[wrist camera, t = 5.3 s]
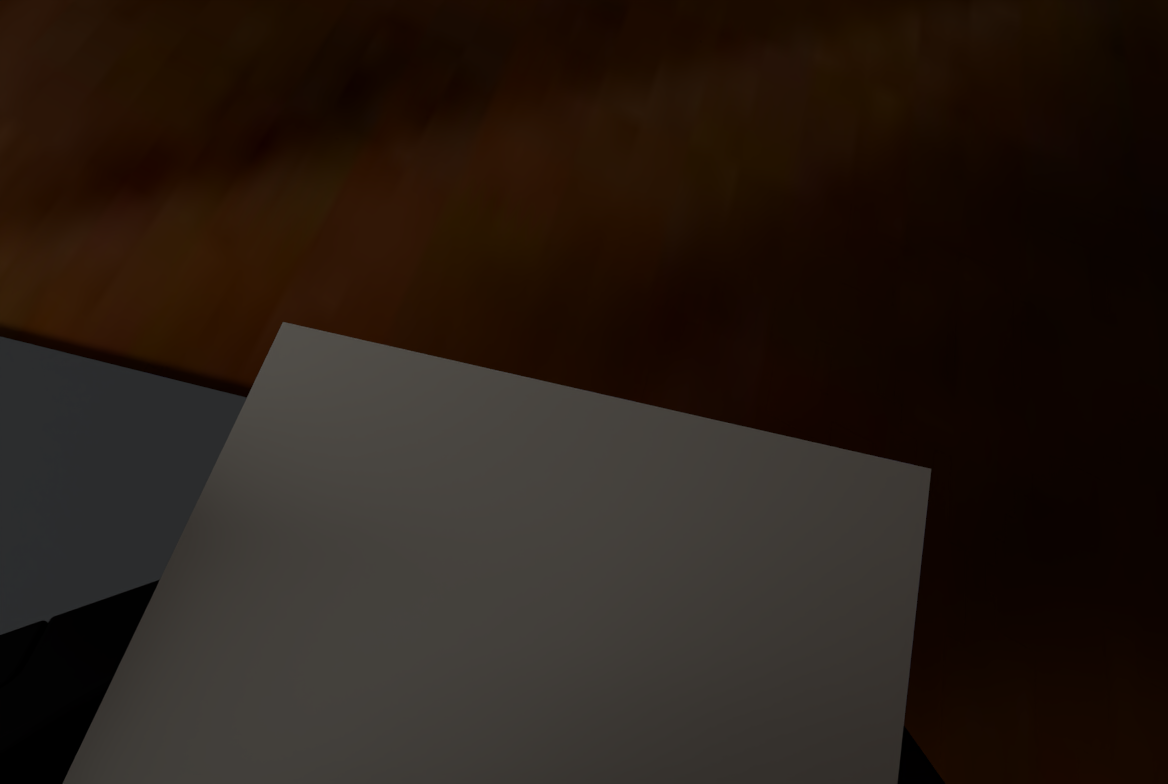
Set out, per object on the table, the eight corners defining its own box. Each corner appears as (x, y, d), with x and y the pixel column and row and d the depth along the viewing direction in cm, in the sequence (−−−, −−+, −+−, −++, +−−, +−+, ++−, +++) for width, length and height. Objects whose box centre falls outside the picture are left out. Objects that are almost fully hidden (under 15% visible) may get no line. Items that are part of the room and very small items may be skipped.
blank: (688, 906, 13) (819, 1515, 3) (432, 818, 14) (-84, 1086, 4) (741, 627, 15) (929, 469, 5) (510, 564, 16) (282, 322, 6)
